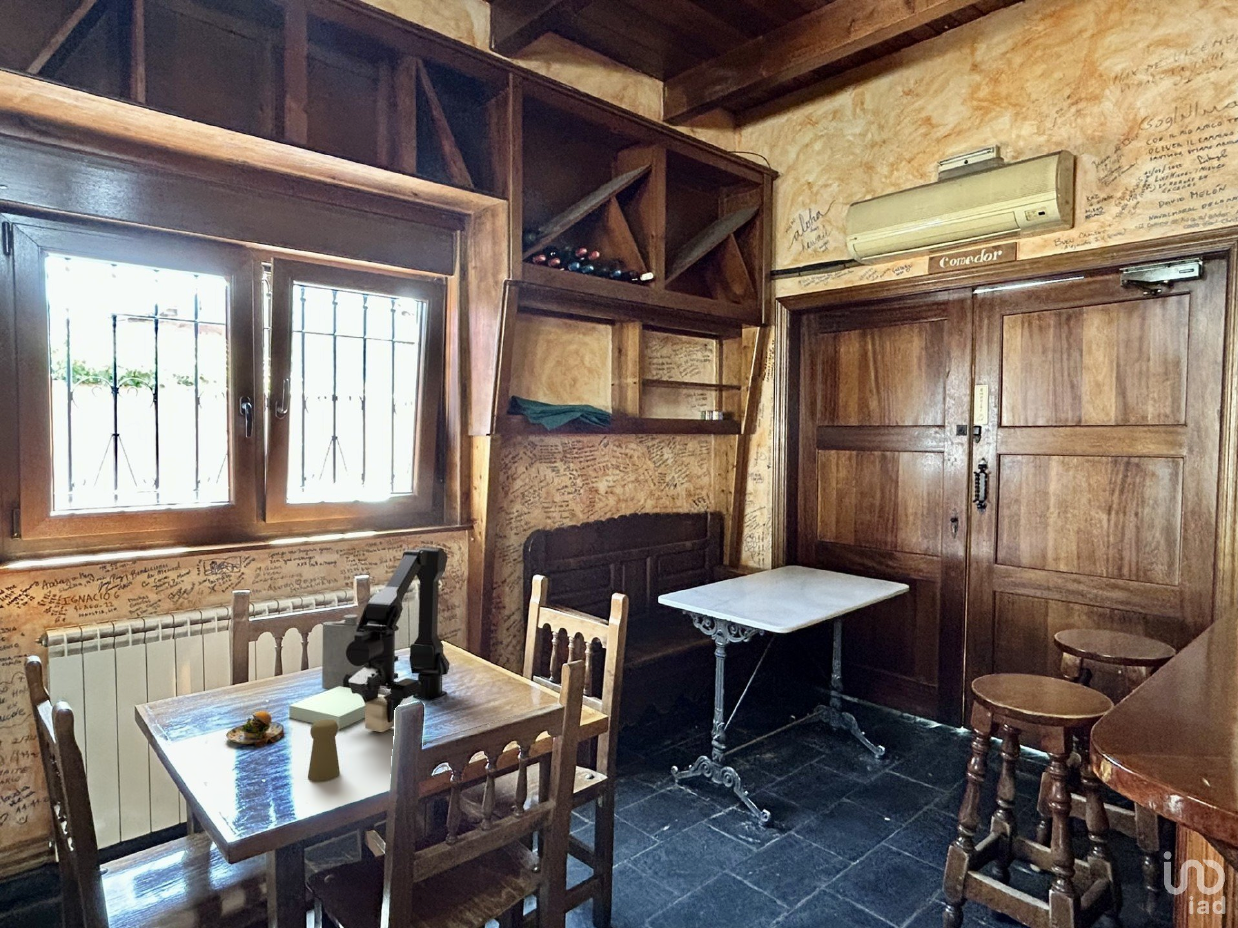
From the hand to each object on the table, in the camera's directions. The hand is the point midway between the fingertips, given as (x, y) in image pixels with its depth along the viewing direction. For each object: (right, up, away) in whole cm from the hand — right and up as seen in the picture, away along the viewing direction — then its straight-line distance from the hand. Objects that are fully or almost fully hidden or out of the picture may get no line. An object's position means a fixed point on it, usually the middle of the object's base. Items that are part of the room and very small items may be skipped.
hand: (381, 719), depth 172 cm
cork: (-4, -3, -23) cm, 24 cm away
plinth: (-14, -2, +11) cm, 18 cm away
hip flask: (-18, -2, +29) cm, 34 cm away
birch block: (0, -2, 0) cm, 2 cm away
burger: (-27, -3, -5) cm, 27 cm away
